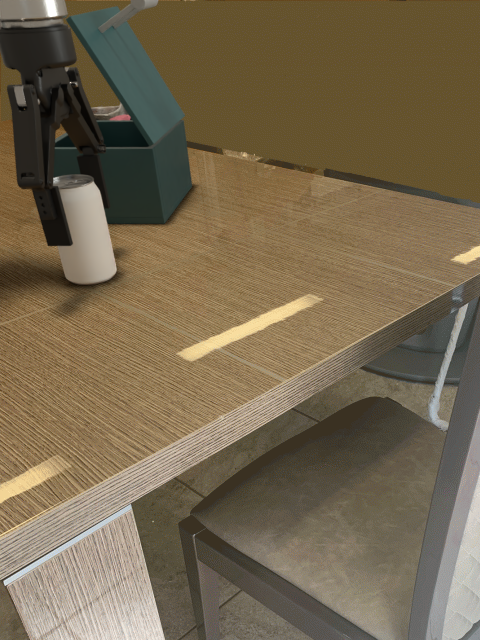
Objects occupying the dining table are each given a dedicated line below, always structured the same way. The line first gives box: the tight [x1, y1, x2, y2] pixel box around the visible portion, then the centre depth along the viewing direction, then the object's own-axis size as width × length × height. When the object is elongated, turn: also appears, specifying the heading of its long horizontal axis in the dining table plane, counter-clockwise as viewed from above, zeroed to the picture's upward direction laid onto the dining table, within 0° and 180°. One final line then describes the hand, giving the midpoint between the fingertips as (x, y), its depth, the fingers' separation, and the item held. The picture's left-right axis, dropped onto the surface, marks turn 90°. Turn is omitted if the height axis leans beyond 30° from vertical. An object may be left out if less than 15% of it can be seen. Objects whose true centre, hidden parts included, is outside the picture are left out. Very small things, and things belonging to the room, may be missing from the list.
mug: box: [91, 101, 129, 120], centre depth 140 cm, size 10×12×10 cm
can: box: [53, 174, 118, 286], centre depth 80 cm, size 6×6×12 cm
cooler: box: [53, 119, 193, 225], centre depth 104 cm, size 17×20×11 cm
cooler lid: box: [65, 0, 186, 146], centre depth 95 cm, size 18×20×9 cm
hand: (81, 225), depth 79 cm, fingers open, 13 cm apart
